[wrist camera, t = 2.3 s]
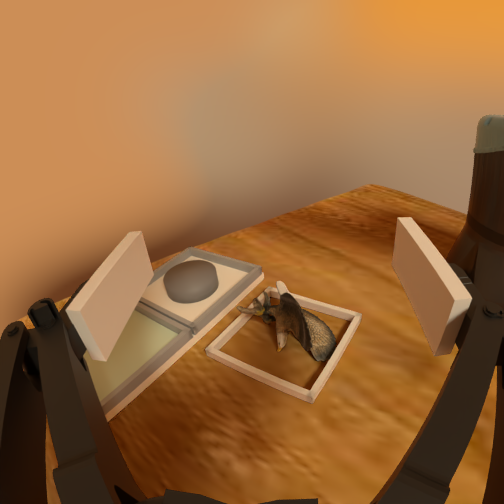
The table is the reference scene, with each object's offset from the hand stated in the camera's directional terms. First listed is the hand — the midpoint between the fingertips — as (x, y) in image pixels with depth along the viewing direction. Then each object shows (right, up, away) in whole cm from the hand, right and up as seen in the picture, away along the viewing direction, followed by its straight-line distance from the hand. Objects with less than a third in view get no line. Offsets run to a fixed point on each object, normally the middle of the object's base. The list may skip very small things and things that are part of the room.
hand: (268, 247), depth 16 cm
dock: (-12, -9, +21) cm, 26 cm away
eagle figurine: (+4, -10, +17) cm, 20 cm away
